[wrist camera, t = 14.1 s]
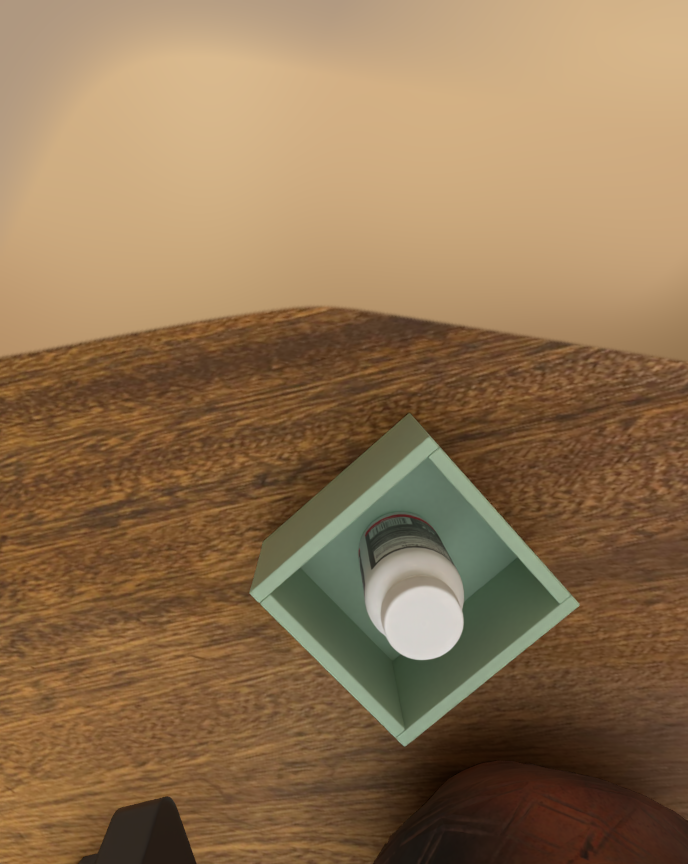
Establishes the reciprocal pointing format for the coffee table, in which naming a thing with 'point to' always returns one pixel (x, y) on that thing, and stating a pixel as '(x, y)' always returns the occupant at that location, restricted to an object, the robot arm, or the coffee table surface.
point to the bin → (344, 596)
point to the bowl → (536, 822)
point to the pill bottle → (411, 586)
